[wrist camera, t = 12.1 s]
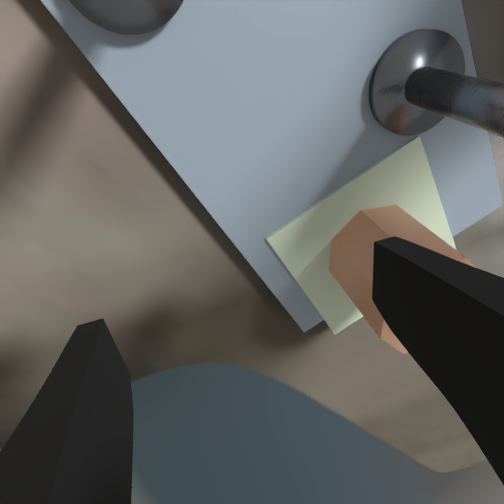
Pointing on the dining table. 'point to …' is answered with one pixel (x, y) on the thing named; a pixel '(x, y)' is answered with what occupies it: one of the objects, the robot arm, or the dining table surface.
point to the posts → (383, 77)
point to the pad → (343, 210)
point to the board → (281, 110)
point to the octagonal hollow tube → (361, 257)
